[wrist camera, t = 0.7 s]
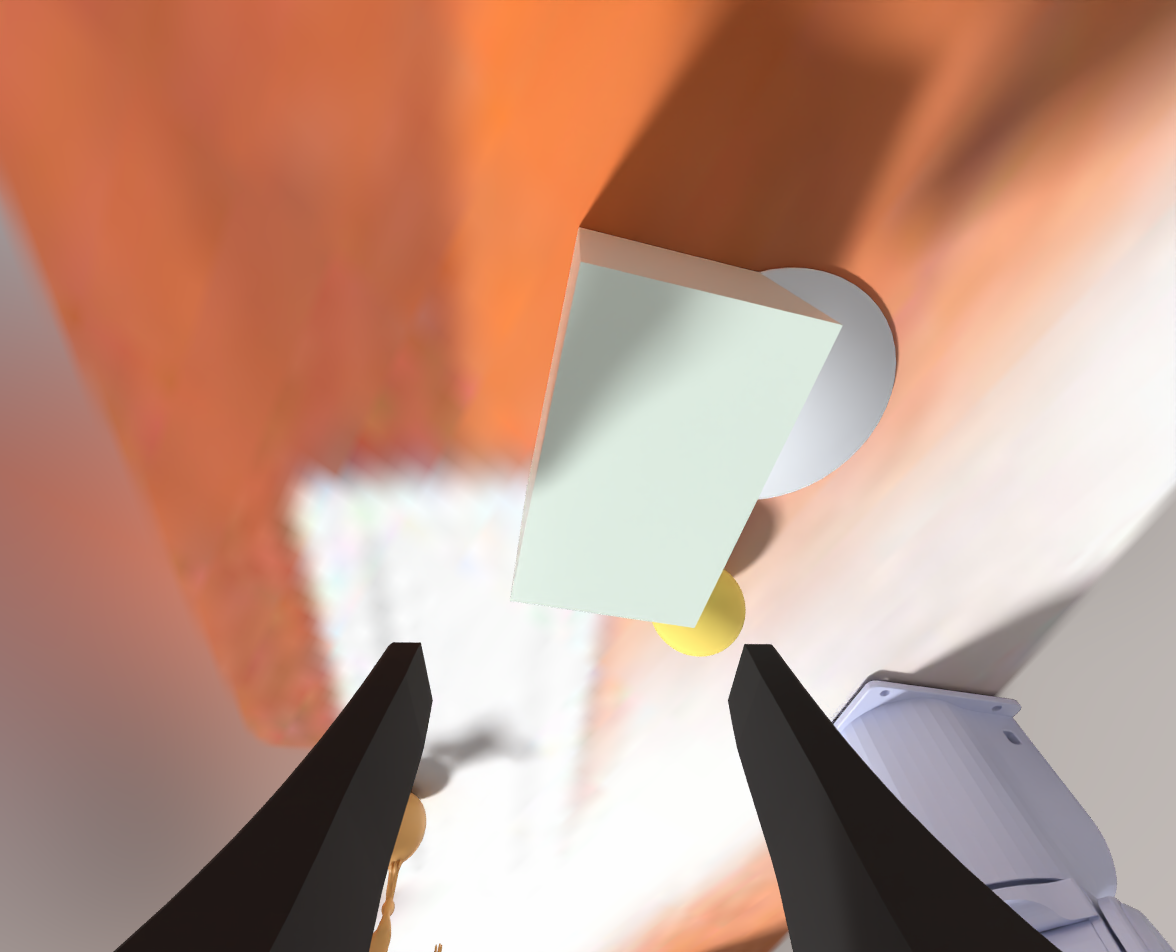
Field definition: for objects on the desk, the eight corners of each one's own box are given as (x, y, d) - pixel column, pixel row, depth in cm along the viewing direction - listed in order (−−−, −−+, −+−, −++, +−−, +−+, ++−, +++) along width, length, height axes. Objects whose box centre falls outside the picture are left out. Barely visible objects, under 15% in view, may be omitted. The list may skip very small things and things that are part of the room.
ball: (744, 548, 23) (774, 616, 19) (713, 610, 25) (735, 682, 21) (659, 533, 22) (674, 601, 19) (634, 598, 24) (643, 670, 21)
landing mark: (944, 301, 17) (948, 303, 17) (821, 513, 22) (823, 516, 22) (691, 237, 16) (692, 238, 16) (618, 475, 21) (618, 478, 20)
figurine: (467, 781, 33) (418, 1065, 22) (463, 826, 36) (419, 1094, 26) (332, 772, 32) (217, 1063, 22) (340, 819, 35) (243, 1093, 25)
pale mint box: (759, 272, 17) (842, 325, 11) (665, 515, 22) (694, 628, 17) (578, 226, 16) (580, 261, 11) (526, 490, 21) (509, 601, 16)
